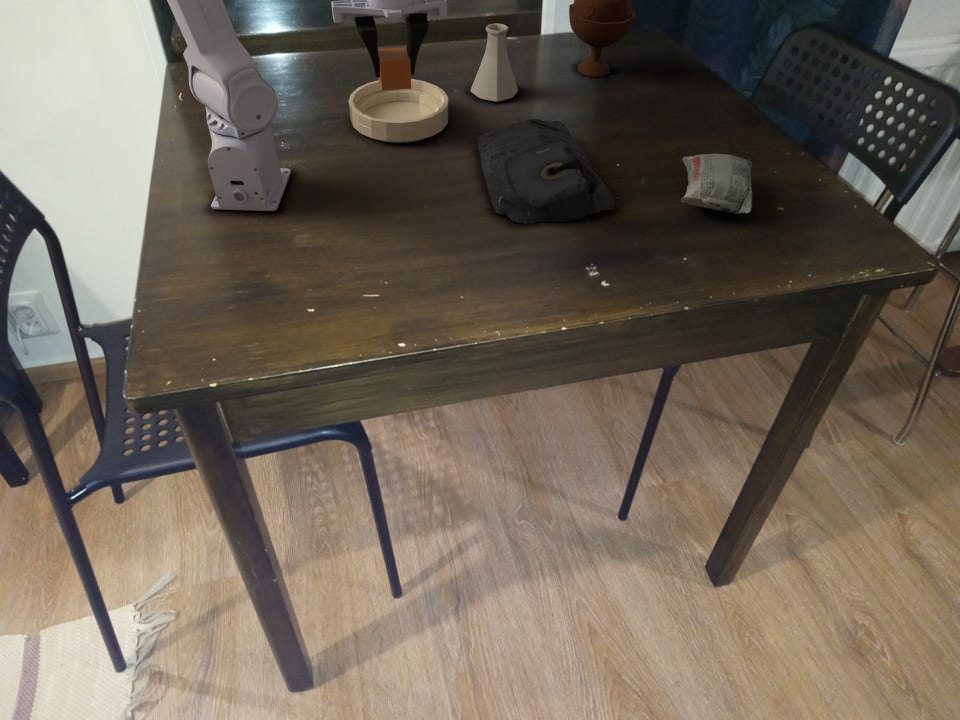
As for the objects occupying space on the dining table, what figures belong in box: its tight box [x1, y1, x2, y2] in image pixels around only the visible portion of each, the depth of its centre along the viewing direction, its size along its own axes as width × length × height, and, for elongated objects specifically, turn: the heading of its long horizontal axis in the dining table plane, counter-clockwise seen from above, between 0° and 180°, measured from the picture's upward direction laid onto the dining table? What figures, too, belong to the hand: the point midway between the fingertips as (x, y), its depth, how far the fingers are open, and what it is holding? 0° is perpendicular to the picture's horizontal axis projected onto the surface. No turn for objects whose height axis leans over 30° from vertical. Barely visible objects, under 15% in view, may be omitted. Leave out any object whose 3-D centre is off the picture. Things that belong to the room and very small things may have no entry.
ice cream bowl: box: [568, 0, 637, 78], centre depth 113 cm, size 11×11×15 cm
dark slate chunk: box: [477, 118, 616, 225], centre depth 92 cm, size 15×22×5 cm
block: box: [377, 46, 412, 91], centre depth 94 cm, size 4×4×4 cm
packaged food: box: [680, 153, 753, 215], centre depth 89 cm, size 9×12×5 cm
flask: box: [469, 22, 519, 103], centre depth 107 cm, size 7×7×10 cm
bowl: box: [348, 78, 449, 143], centre depth 102 cm, size 14×14×4 cm
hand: (393, 73), depth 95 cm, fingers closed on block, 4 cm apart
